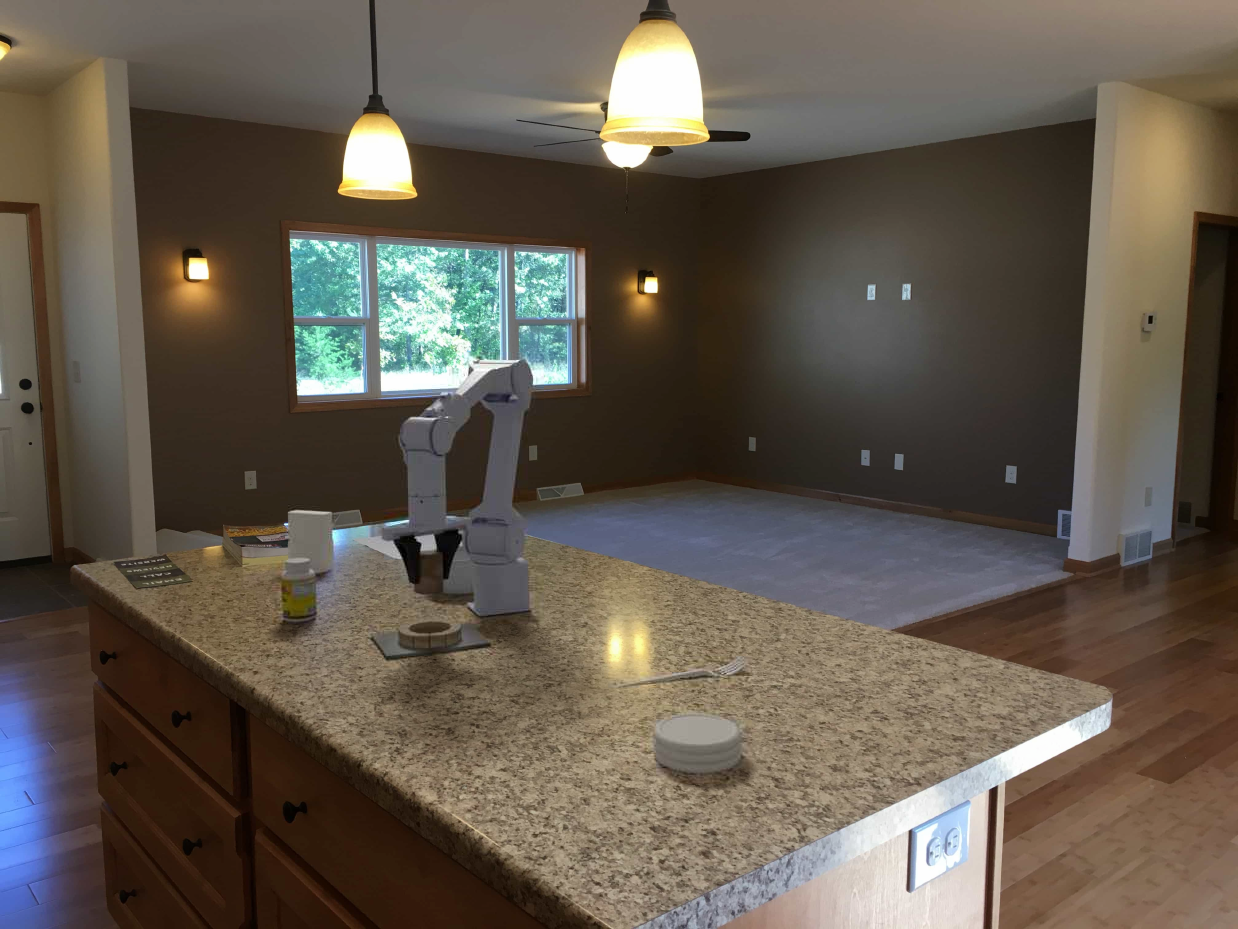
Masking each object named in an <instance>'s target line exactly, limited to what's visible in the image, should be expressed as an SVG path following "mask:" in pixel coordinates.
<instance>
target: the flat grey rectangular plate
mask: <svg viewBox="0 0 1238 929" xmlns="http://www.w3.org/2000/svg"><path fill="white" fill-rule="evenodd" d="M370 636H371V639H372V641H374V643H375V645H376V646H377V648H378V649H379V650H380V651H381V653H382V654H383V656H384V657H385V659H386V660H393V659H399V658H408V657H416V656H423V655H432V654H438V653H439V654H440V653H446V652H454V651H462V650H463V651H464V650H469V649H477V648H478V649H479V648H483V647H491V644H492V643H491V641H490V640H488V639H487V638H486V637H485V636H484V635H483V634H482V633H481V632H480V631H479V630H477V629H476V628H475V627H474V626H473V625H472V623H470V622H465V623H459V622H458V621H455V620H450V619H448V618H447V619H445V618H443V619H441V618H427V619H418V620H413V621H410V622H406V623H403V624H402V625H400V627H399V628H397V631H391V632H383V633H381V632H380V633H373V634H371V635H370Z"/></svg>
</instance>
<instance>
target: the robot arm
mask: <svg viewBox="0 0 1238 929" xmlns="http://www.w3.org/2000/svg"><path fill="white" fill-rule="evenodd" d="M467 370H468V371H467V377H466V378H465V380H464V381H463V382H462V383H461V384H460V386H458V388H457V389H456V390H455V391H454V392H453V391H449V392H446V391H442V392H441V393H439V395H438V398H437V399H435V401H434V402H433V403H431V404H430V405H429V407H426V408H425V409H424V411H423V412H422V413H421V414H420V415H419V416H410V417H409V418H408V419H407V420H405V421H404V422H403V423H402V425H401V427H400V431H399V435H398V444H399V447H400V449H401V451H402V454H403V462H404V464H405V466H407V494H408V495H407V497H408V498H407V499H408V502H407V503H408V504H407V505H408V521H406V522H401V523H396V524H392V525H387V526H381V530H380V531H381V532H380V533H381V540H383V541H386V542H392V541H393V544H394V545H395V547H396V549H397V550H398V554H399V555H400V557H401V559H402V561H403V564H404V567H405V570H406V573H407V579H408V582H409V583H410V584H413V585H414V584H419V557H420V551H422V545H423V544H422V542H420V541H418V539H417V538H416V537H423V536H430V535H431V536H432V535H433V536H434V542H435V546H436V548H435V549H437V551H441V552H443V579H444V580H446V579H448V578H449V573H450V569H451V565H452V561H453V558H454V555H455V553H456V551H457V549H458V547H459V546H463V548H464V551H465V552H466V554H467V555H469V560H472V561H473V576H474V593H473V602H467V603H466V606H467V607H468V608H469V609H470V610H471V611H473V612H474V613H475V614H476V615H477V616H478V617H486V616H495V615H502V614H512V613H518V612H520V613H521V612H527V611H531V610H532V608H531V607H530V571H529V566H528V562H527V561H526V559H525V558H524V557H520V556H521V555H522V553H523V551H524V549H525V543H526V536H525V535H526V534H525V518H523V516H522V515H521V514H520V513H519V512H518V511H517V510H516V509H515V508H514V506H513V498H514V492H515V491H514V490H515V483H516V482H515V481H516V474H517V468H518V460H519V453H520V452H519V451H520V444H521V437H522V431H523V429H522V428H523V423H524V415H525V414H524V413H525V412H526V411H527V410H529V409H530V408H531V399H532V395H533V387H534V386H533V385H534V375H533V372H532V369H531V366H530V365H529V363H528V362H527V361H526V359H523V358H521V359H483V358H477V359H475V360H474V361H473V362H472V363H471V364H469V366H468V369H467ZM478 402H480V403H481V404H482V405H483V407H484V408H485V409H487V410H489V411H491V412H492V415H493V424H492V432H491V439H490V447H489V453H488V459H487V460H488V461H487V466H486V467H487V468H486V474H485V483H484V488H483V489H484V490H483V496H482V502H481V503H480V504H479V505H478V506H476V507H475V508H474V509H472V510H471V511H469V513H468V516H464V517H463V516H462V517H447V491H446V489H447V488H446V484H447V482H446V454H447V453H449V452H450V450H451V449H452V445H453V441H454V438H455V437H456V434H457V433H456V432H458V431H459V430H460V429H461V427H463V425H465V423H466V422H468V420H469V419H470V417H471V408H472V407H473V406H475V405H476V404H477V403H478ZM491 521H492V522H491ZM460 532H462V533H460ZM461 543H462V545H461Z"/></svg>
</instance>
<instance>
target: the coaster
mask: <svg viewBox="0 0 1238 929" xmlns="http://www.w3.org/2000/svg"><path fill="white" fill-rule="evenodd" d="M652 732H653V734H652V735H653V742H652V743H653V750H652V753H653V754H652V755H653V756H654V759H655V761H657V763H659V764H660V765H661V764H662V765H661V766H662V767H664V766H665V767H664V768H666V767H668V768H667V769H669V768H670V769H669V770H671V769H673V770H672V771H674V770H677V771H676V772H678V771H682V772H681V773H683V772H686V773H685V774H690V773H695V774H694V775H709V774H708V773H711V774H717V773H716V772H718V773H722V772H725V771H728V770H731V769H732V768H734V767H736V765H738V764H739V762H740V761H741V758H742V752H741V750H742V736H743V735H742V731H741V729H740V727H739V726H738V725H737V724H736V723H735V722H733V721H731V720H730V719H728V718H726V717H722V716H719V715H713V714H708V713H697V712H696V713H695V712H694V713H691V712H690V713H681V714H675V715H674V714H673V715H671V716H668V717H665V718H662V719H661V720H660V721H659V722H657V723H656V724H655V725H654V728H653V731H652ZM706 773H707V774H706Z"/></svg>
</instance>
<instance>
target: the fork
mask: <svg viewBox="0 0 1238 929" xmlns="http://www.w3.org/2000/svg"><path fill="white" fill-rule="evenodd" d="M748 664H749V661H747V660H746V659H745V658H744V657H742V656H740V657H738V658H736V659H735V660H734V661H731V662H730V663H728V664H727V665H726V664H725V665H724V666H721V667H719V668H714V669H715V670H721V671H719V672H721V674H724V673H726V674H725V675H731V676H735V675H736V674H738V673H740V671H742V669H744V668H745V667H746V666H747V665H748ZM710 670H711V669H707V668H699V669H693V670H688V671H683V672H679V673H673V674H667V675H662V676H656V677H652V678H646V679H642V680H636V681H635V680H634V681H631V682H625V683H621V684H619V683H618V684H617V685H618V686H625V687H628V686H627V685H633V686H636V685H635V684H641V683H646V682H647V683H648V682H657V683H660V682H659V681H665V682H668V681H667V680H673V681H675V680H674V679H679V678H685V679H689V677H691V678H696V677H700V676H701V677H702V676H708V677H710V676H715V677H714V678H718V677H717V676H716V675H715V673H713V672H712V671H710ZM723 671H725V672H723ZM734 674H735V675H734ZM679 680H680V679H679ZM641 685H642V684H641Z"/></svg>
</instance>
